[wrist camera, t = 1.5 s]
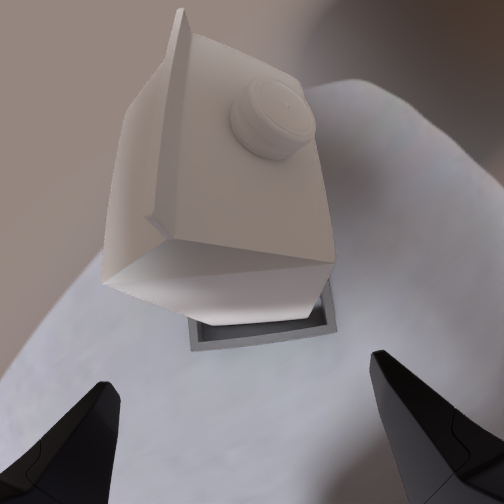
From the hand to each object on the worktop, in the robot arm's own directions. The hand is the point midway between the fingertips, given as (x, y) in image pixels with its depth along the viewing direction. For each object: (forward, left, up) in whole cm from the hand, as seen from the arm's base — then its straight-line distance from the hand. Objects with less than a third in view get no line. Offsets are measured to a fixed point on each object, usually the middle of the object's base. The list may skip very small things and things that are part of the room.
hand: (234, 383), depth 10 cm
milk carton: (+7, 0, -13) cm, 15 cm away
